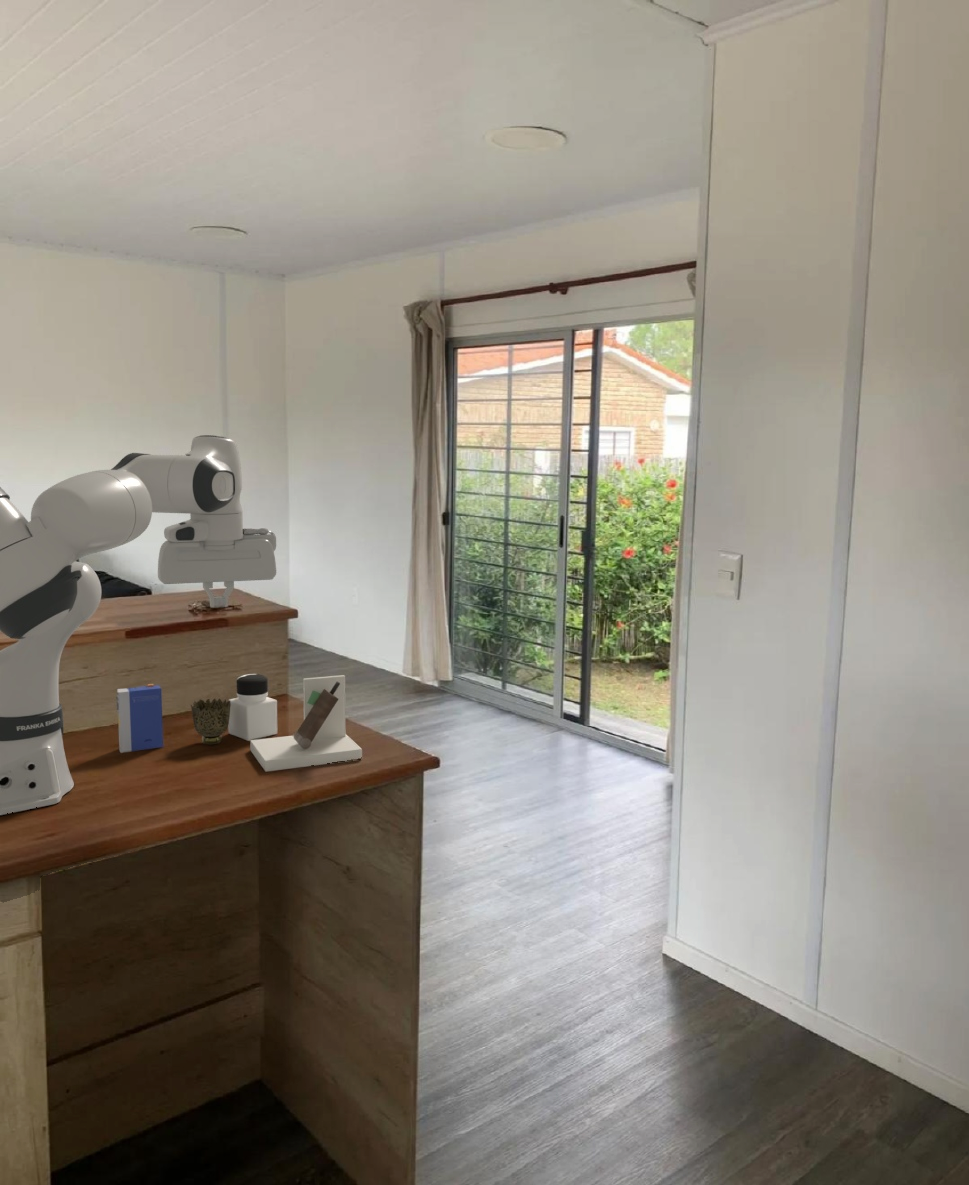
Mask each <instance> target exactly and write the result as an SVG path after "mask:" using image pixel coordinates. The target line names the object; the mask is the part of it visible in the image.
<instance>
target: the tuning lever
mask: <svg viewBox="0 0 969 1185" xmlns="http://www.w3.org/2000/svg"><path fill="white" fill-rule="evenodd" d="M339 685H340V683H339V682H336V683H335V685H334V686H333V688H332V690H331V691H330V692H329V691H327V690H326V689H324V690H323V691H322V693H321V695H320V696H319V698H318V699H317V701H316V702H315V704H314V706H313V707H312V709H311V710H310V712H309V713H308V715H307V717H306V718H305V720H304V719H303V722H301V725H300V727H298V730H297V731H295V732H294V733H293V735H294V739H295V740H296V742H297V743H298V744H299V745H300V746H301V747H302V748H303V749H308V748H309V747H310V746H311V742H312V741H313V739H314V737H315V736H316V734H317V733H318V731H319V729H320V728H321V726H322V725H323V723H324V721H325V720H326V718H327V717H328V715H329V714H330V712H331V710H332V709H333V707H334V706H335V704H336V702H337V701H338V698H337V697H336V696H334V695H333V694H334V693H335V691H336V690H337V688H338V686H339Z"/></svg>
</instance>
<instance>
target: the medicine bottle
mask: <svg viewBox="0 0 969 1185" xmlns="http://www.w3.org/2000/svg"><path fill="white" fill-rule="evenodd" d="M268 682H269V680H268V677H267V676H265V675H263V674H259V673H249V674H244V675H243V674H242V675H241V676H239V677H237V679H236V698H229V699H228V700H227V702H228V701H229V700H230V704H231V706H230V717H229V724H228V728H227V729H228V734H230V735H232V736H235V737H238V738H240V739H242V740H245V741H248V742H250V740H258V739H263V738H266V737H270V736H274V735H277V734H278V700H277V699H274V698H271V697H269V696H268V695H269V691H268V690H269V685H268Z"/></svg>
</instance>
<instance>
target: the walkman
mask: <svg viewBox="0 0 969 1185" xmlns="http://www.w3.org/2000/svg"><path fill="white" fill-rule="evenodd" d="M162 695H163V694H162V687H161V686H160V685H159V684H156V685H155V684H154V683H150V684H146V686H145V685H144V686H137V687H127V688H117V690H116V697H115V699H116V700H115V701H116V711H117V720H118V722H117V724H118V743H119V745H118V746H119V752H120V753H121V754H122V753H130V752H135V751H136V752H137V751H144V750H151V749H158V748H164V730H163V729H164V728H163V702H162V701H163V699H162V697H163V696H162Z"/></svg>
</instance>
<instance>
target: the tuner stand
mask: <svg viewBox="0 0 969 1185" xmlns="http://www.w3.org/2000/svg"><path fill="white" fill-rule="evenodd" d="M302 680H303V682H302V684H303V685H302V686H303V688H302V689H303V692H302V693H303V721H304V720H305V718H306V717H307V715H308V713H309V712H310V710H311V709H312V707H313V706H314V704H315V702H316V701H317V699H318V698H319V696H320V695H321V693H322V691H323V690H324V689H326V690H327V691H329V692H330V691H331V690H332V688H333V686H334V685H335V683H336V682H339V683H340V685H339V686H338V688H337V690H336V691H335V693H334V694H333V695H334V696H336V697H337V698H338V701H337V702H336V704H335V706H334V707H333V709H332V710H331V712H330V714H329V715H328V717H327V718H326V720H325V721H324V723H323V725H322V726H321V728H320V729H319V731H318V733H317V734H316V736H315V737H314V739H313V741H312V742H311V746H310V747H309V748H308V749H303V748H302V747H301V746H300V745H299V744H298V743H297V742H296V740H295V739H294V734H293V735H288V736H287V735H286V736H277V737H276V736H275V737H268V738H258V739H254V740H250V741H249V742H250V752H251V753H252V754H253V756H254V758H255V759H256V760H257V762H258V763H259V764H260V766H261V767H262V768H263V770H264V772H274V771H281V770H288V769H289V770H290V769H297V768H304V767H312V766H311V765H314V766H319V765H320V766H322V765H328V764H327V763H330V764H333V763H332V762H337V761H345V762H348V761H347V760H351V759H358V758H361V757H362V758H363V749H362V748H361V747H360V746H359V745H358V744H357V743H356V742H355V741H354V740H353V739H352V738H351V737H350V736H348V735H347V733H346V675H344V674H340V675H330V676H318V677H308V678H302Z"/></svg>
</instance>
